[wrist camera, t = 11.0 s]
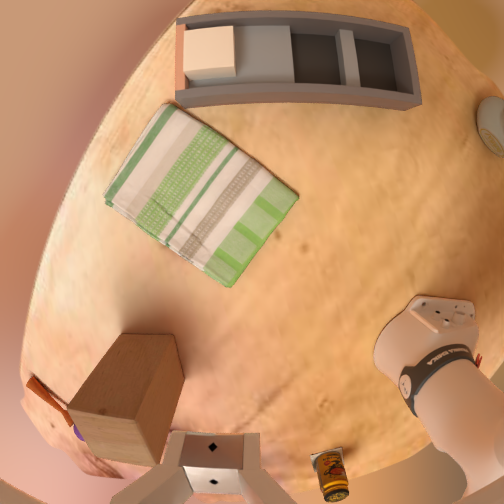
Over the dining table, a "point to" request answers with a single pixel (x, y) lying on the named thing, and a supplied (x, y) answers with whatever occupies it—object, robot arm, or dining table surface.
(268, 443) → the dining table surface
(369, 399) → the dining table surface
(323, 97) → the box
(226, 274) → the dish towel
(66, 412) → the purple and brown maraca
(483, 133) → the air freshener
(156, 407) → the wooden block
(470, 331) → the robot arm
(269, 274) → the dining table surface
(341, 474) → the condiment
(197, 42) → the cream block
